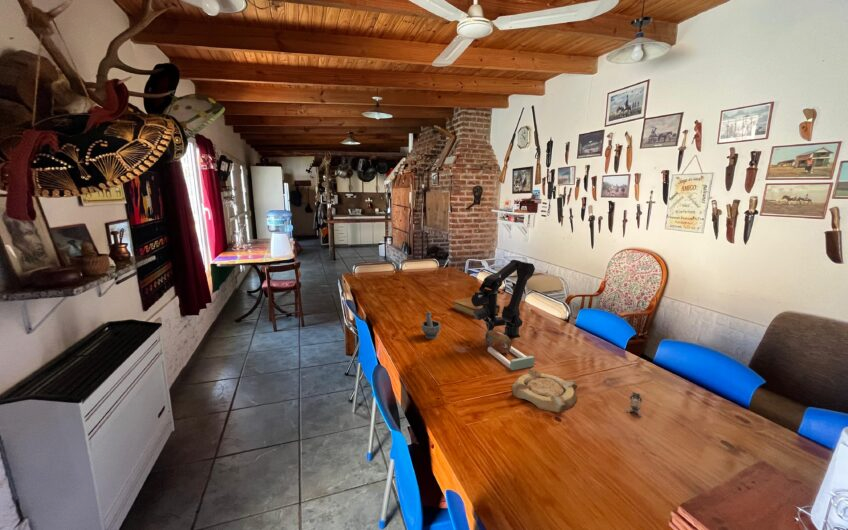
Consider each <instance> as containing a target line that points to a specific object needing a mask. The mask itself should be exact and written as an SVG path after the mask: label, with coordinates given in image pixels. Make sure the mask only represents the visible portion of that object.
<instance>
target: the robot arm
mask: <svg viewBox="0 0 848 530" xmlns="http://www.w3.org/2000/svg"><path fill="white" fill-rule="evenodd" d="M535 271H536V268H535V265H534V264H533V263H530V262H526V261H521V260H518V259H511V260H510V261H509V262H508V263H507V264H506V265H505V266H503V267H502V268H501V269H499V271H497V272H496V273H492V274H489V275H487V276H486V277H485V278H484V279H483V282H482V283H481V285H480V286H479V288H478V291H475V292H474V295H472V296H471V297H472V298H471V301H472V304H473V305H474V306H475V307H478V306H482V308H479V309H477V310H475V311H474V312H473V313H474V316H475V317H474V319H475V320H477V321H481V320H483V322H484V323H485V326H486V329H487V330H486V331H489V330H495V329H494V328H495V327H500V326H504V332H503V333H502V334H505V335H507V336H508V337H509V339H514V338H521V335H520V327H521V326H523V322H524V321H523V319H521V318H520V314H521V311H520V304H521V302H522V298H523V296H524V292H525V288H526V286H527V283H528V281H529V279H531V278H532V277H533V275H534V273H535ZM515 272H516V273H515ZM514 273H515V274H516V275H517V276H516V277H517V279H516V282H515V285H514V288H513V291H512V294H511V296H510V300H509V304H507V306H506V305H504V306H503V307H502V308H503V309H502V312H501V316H499V313H496V311H497V308H498V305H499V304H498V294H501V291H500V288H501V287H502V286H503V282H504V281H505V280H506V279H508V278H509V277H510V276H511V275H512V274H514ZM497 304H498V305H497Z"/></svg>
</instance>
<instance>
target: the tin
mask: <svg viewBox="0 0 848 530" xmlns="http://www.w3.org/2000/svg"><path fill="white" fill-rule="evenodd" d="M485 342H486V344H487V346H488V347H492V348H493V349H494V350H496V351H497V352H498V353H500V354H506V353H508V352H510V349H511V346H512V340H511V338H509V337H508V336H507V335H505V334H503V333H502V332H501V331H498V330H495V329H493V330H489V331H488V330H486V333H485Z"/></svg>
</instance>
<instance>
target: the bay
mask: <svg viewBox="0 0 848 530" xmlns="http://www.w3.org/2000/svg"><path fill="white" fill-rule="evenodd" d="M487 352H488V353H489V354H491V355H492V356H493V357H494V358H496V359H497V360H498V361H500V362H501V363H502V364H503V365H504V366H505V367H507V368H508V369H509V370H511V371H516V370H521V369H526V368H532V367H535V356H533V355H528V356H527V355H525V353H522V352H521V351H520V350H518V349H517V348H515V347H513V346H512V345H511V349H510V351H509V352H510V353H511V354H513V355H514V356H516V358H513V359H510V360H509V359H507V358H506V357H505V356H504V355H502V353H501V352H499V351H497V350H495V349H493V348H492V347H489V346H488V347H487Z"/></svg>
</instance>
